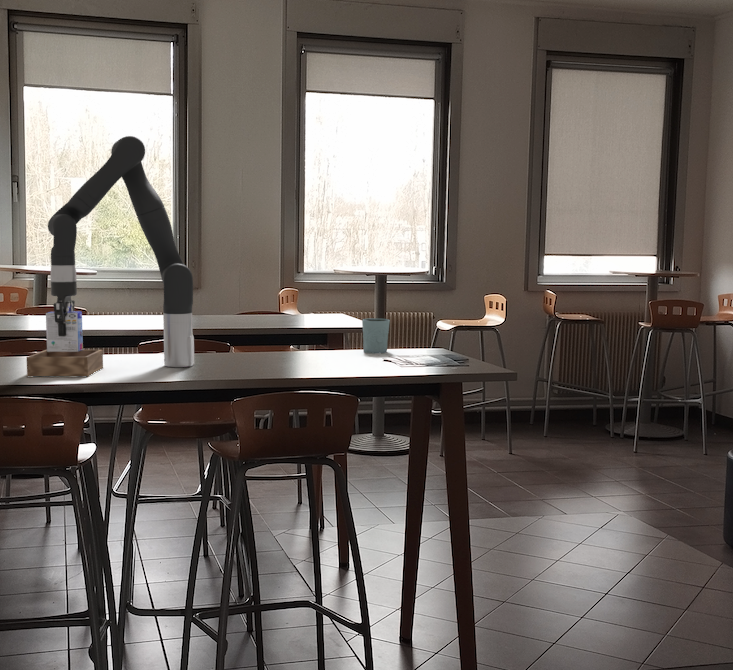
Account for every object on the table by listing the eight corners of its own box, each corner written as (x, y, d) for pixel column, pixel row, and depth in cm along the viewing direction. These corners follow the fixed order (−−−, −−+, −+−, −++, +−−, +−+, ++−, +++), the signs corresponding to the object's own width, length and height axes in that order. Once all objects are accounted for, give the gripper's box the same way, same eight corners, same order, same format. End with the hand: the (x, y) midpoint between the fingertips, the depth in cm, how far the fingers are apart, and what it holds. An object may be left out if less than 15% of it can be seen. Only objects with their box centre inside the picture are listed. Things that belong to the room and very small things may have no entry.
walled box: (103, 368, 292) (102, 349, 291) (88, 377, 274) (87, 357, 273) (46, 368, 291) (45, 349, 290) (27, 377, 273) (26, 357, 272)
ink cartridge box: (83, 349, 285) (82, 303, 283) (79, 352, 279) (77, 305, 277) (51, 350, 284) (50, 303, 282) (46, 352, 279) (44, 305, 277)
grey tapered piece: (368, 349, 342) (368, 317, 341) (393, 351, 338) (393, 318, 337) (357, 352, 332) (358, 320, 331) (383, 354, 329) (384, 321, 328)
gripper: (69, 281, 272) (70, 337, 274) (82, 279, 287) (83, 332, 288) (43, 281, 272) (45, 337, 274) (58, 279, 286) (59, 332, 288)
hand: (65, 334), depth 281 cm, fingers closed on ink cartridge box, 5 cm apart
